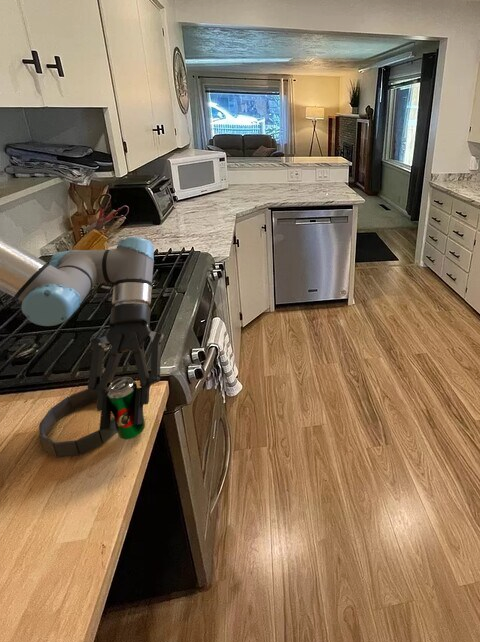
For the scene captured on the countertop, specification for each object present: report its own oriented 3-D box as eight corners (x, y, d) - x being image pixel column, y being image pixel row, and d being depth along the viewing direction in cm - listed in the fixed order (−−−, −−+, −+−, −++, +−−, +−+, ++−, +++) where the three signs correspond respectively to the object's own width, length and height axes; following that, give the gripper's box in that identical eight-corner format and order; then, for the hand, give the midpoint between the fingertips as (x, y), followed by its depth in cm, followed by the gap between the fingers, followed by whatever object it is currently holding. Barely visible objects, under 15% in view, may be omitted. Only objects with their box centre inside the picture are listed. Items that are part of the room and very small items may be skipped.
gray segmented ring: (26, 441, 72) (21, 428, 70) (94, 391, 84) (91, 379, 83) (77, 468, 67) (72, 454, 65) (140, 410, 79) (138, 398, 78)
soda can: (151, 427, 74) (141, 381, 69) (127, 445, 70) (115, 398, 65) (136, 416, 76) (126, 371, 72) (113, 433, 72) (100, 387, 68)
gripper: (179, 306, 82) (176, 418, 73) (92, 314, 78) (78, 432, 69) (171, 298, 75) (167, 420, 66) (76, 306, 72) (57, 436, 63)
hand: (121, 426), depth 68 cm, fingers closed on soda can, 5 cm apart
